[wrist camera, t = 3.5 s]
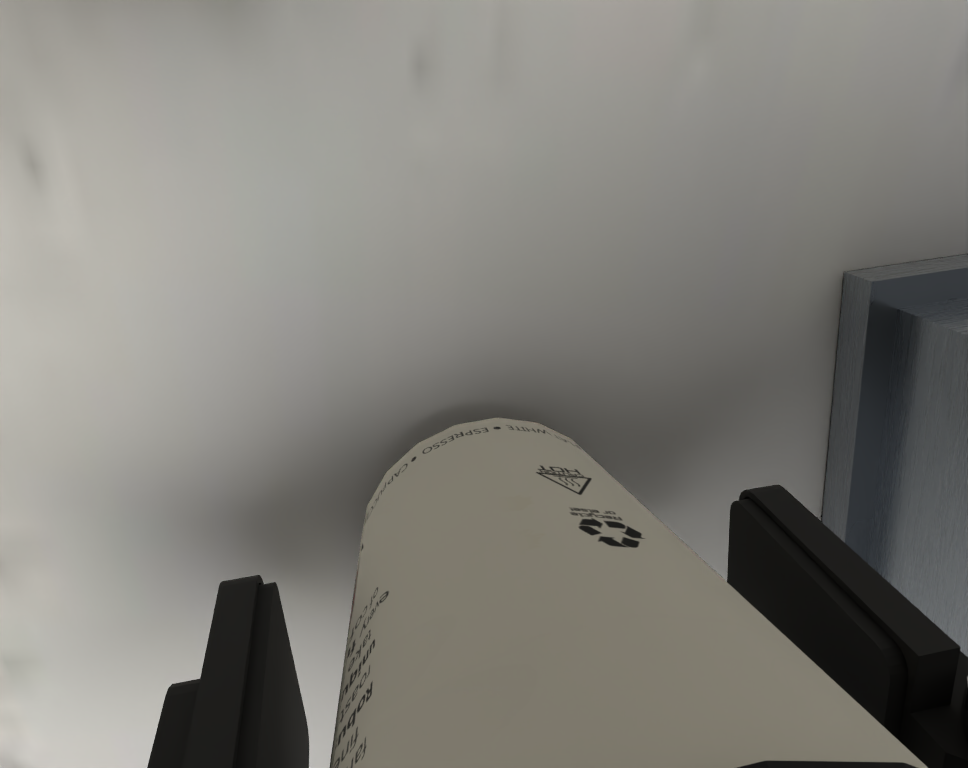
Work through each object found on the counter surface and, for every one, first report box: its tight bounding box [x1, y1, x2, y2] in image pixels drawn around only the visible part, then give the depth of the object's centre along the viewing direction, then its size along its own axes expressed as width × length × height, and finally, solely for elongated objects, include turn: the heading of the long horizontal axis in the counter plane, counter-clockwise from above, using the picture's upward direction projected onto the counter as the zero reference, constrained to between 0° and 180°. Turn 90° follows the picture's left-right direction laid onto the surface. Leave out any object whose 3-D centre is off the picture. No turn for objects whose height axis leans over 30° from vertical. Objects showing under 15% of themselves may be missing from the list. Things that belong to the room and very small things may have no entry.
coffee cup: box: [330, 418, 928, 768], centre depth 10 cm, size 7×7×10 cm
